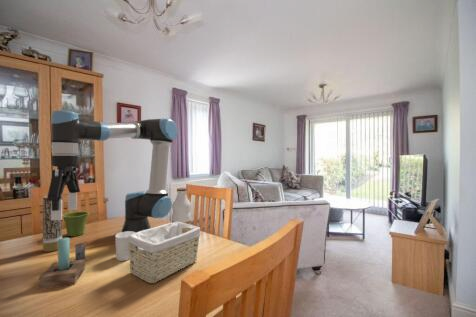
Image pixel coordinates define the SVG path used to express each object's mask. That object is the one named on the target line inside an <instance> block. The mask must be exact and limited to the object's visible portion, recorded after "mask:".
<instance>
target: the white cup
mask: <svg viewBox="0 0 476 317" xmlns="http://www.w3.org/2000/svg"><path fill="white" fill-rule="evenodd" d="M134 233H135V232H133V231H126V232H121V231H120V232H118V233H117V234H115V236H114V238H115V252H116V257H115V258H116V260H117V261H120V262H124V261H130V255H129V254H130V253H129V244H128V243H129V242H128V237H129V235H131V234H134Z"/></svg>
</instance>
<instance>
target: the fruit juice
mask: <svg viewBox="0 0 476 317" xmlns="http://www.w3.org/2000/svg"><path fill="white" fill-rule="evenodd" d="M176 192H177V194H176V197H175V199H174V201H173V202H172V207H171V209H172V214H171V223H173V222H182V223H186V224H189V225H192V214H191V209H192V203H191V201H190V200H189V198H188V194H187V192H188V188H187V187H177V188H176ZM186 232H188V231H186V230H185V231H184V230H182V234H183V233H186Z"/></svg>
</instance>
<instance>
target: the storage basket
mask: <svg viewBox="0 0 476 317" xmlns="http://www.w3.org/2000/svg"><path fill="white" fill-rule="evenodd" d="M182 230H184V231H185V230H186V231H188V232H186V233H183V234H182ZM200 236H201V227H200V226H196V225H194V224H193V225H192V224H191V225H189V224H186V223H182V222H173V223H172V222H169V223H165V224H161V225H157V226H155V227H151V228H150V229H147V230H143V231H139V232H137V233H134V234H131V235H129V237H128V242H129V243H128V244H129V253H130V254H129V255H130V259H129V262H130V263H129V268H130V269H129V271H130V273H131V274H133V275H134V276H136V277H137V278H139V279H141V280H143V281H144V282H146V283H148V284H150V283H153V284H156V283H158V282H159V280H160V281H162V280H164V279H166V278H167V277H169V276H171V275H173V274H175V273H177V272H178V270H179V271H181V270H183V269H185V268H186V266H187V267H188V266H190V265H192V264H193V263H195V261H196V262H197V255H198V251H199V250H198V249H199V243H200V242H199V241H200V238H201V237H200ZM182 268H183V269H182ZM180 269H181V270H180ZM157 281H158V282H157Z"/></svg>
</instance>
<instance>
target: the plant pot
mask: <svg viewBox="0 0 476 317" xmlns="http://www.w3.org/2000/svg"><path fill="white" fill-rule="evenodd" d="M89 214H90V212H88V211H73V212H68V213H65V214H62V218H63V220H64V224H65V230H66V234H67V236H68V237H71V238H72V237H79V236H80V235H83V234H85V228H86V223H87V220H88V215H89Z"/></svg>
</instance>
